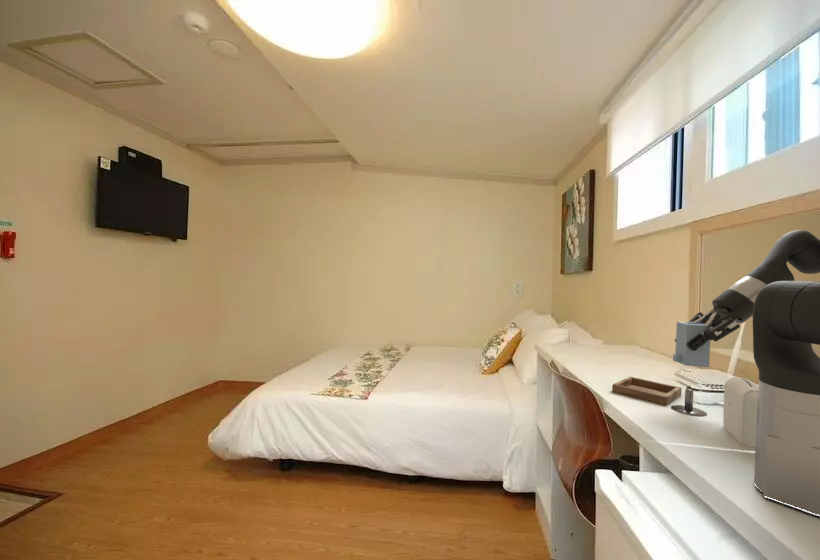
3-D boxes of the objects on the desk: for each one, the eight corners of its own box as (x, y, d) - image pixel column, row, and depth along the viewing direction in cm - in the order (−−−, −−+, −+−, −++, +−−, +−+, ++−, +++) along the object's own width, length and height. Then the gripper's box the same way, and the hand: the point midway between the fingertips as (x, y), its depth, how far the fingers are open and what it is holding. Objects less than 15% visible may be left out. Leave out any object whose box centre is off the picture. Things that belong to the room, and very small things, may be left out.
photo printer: (719, 426, 82) (722, 371, 81) (744, 430, 80) (746, 374, 80) (739, 446, 72) (742, 384, 72) (767, 450, 71) (770, 388, 70)
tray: (666, 407, 93) (666, 397, 93) (612, 393, 103) (612, 384, 103) (681, 396, 101) (681, 387, 101) (629, 384, 111) (630, 376, 111)
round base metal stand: (714, 419, 85) (715, 395, 85) (679, 416, 87) (680, 393, 87) (697, 408, 92) (697, 386, 92) (665, 405, 94) (666, 384, 94)
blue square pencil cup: (709, 367, 87) (711, 325, 86) (679, 365, 88) (681, 323, 88) (697, 362, 91) (699, 322, 91) (669, 360, 93) (671, 321, 93)
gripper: (778, 314, 80) (712, 364, 82) (735, 308, 94) (680, 351, 96) (751, 289, 81) (686, 339, 83) (712, 287, 95) (658, 330, 97)
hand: (683, 345), depth 90 cm, fingers closed on blue square pencil cup, 5 cm apart
